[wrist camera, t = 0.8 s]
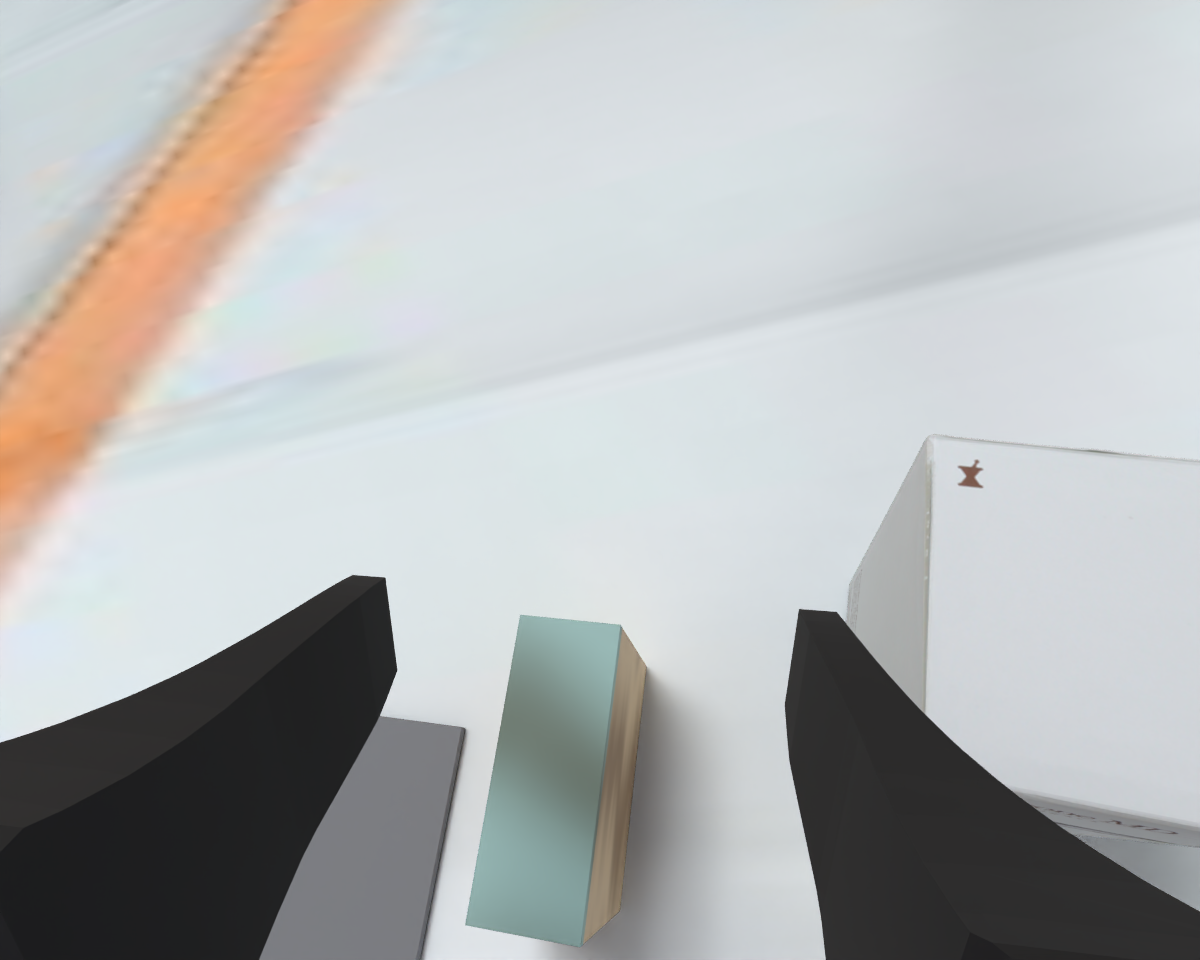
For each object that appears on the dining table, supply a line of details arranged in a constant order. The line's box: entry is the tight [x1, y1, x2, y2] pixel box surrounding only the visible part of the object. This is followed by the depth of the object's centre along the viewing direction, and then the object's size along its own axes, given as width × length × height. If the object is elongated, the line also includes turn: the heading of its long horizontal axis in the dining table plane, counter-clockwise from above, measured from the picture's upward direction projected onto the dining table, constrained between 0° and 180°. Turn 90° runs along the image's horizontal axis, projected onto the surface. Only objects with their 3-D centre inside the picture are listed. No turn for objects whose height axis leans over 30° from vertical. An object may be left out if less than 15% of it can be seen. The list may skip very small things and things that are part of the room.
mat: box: [259, 716, 465, 960], centre depth 26 cm, size 12×10×1 cm
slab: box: [465, 615, 646, 947], centre depth 23 cm, size 8×3×7 cm, turn 172°
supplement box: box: [846, 434, 1200, 847], centre depth 20 cm, size 7×7×13 cm
